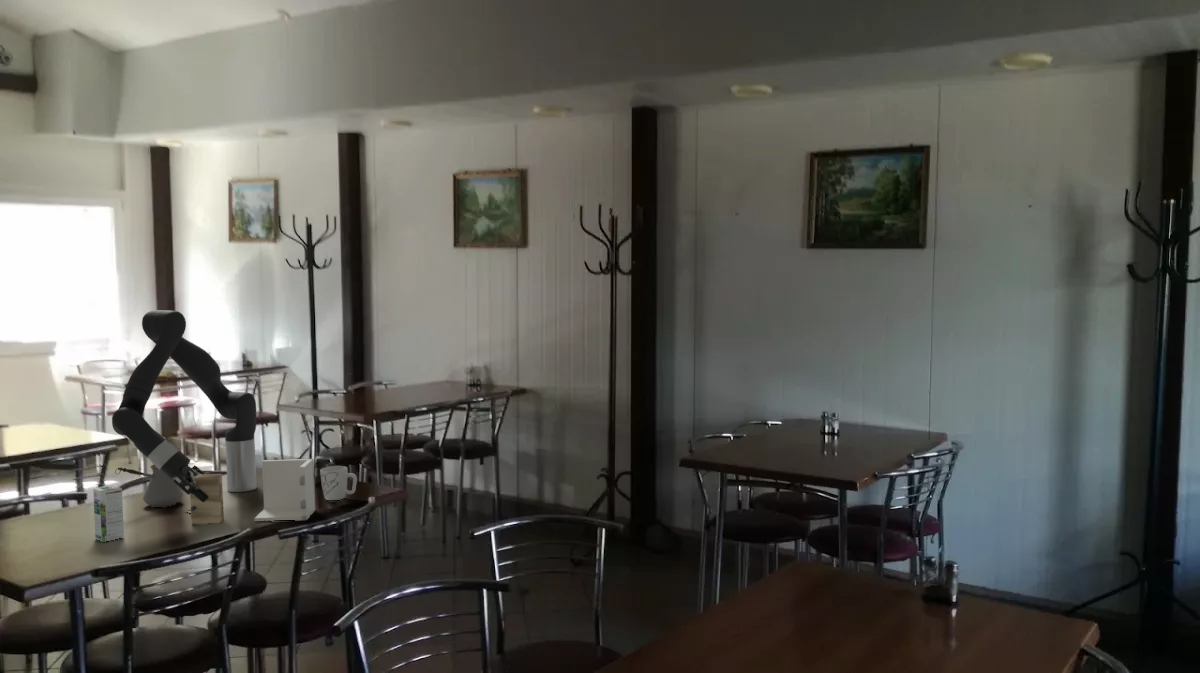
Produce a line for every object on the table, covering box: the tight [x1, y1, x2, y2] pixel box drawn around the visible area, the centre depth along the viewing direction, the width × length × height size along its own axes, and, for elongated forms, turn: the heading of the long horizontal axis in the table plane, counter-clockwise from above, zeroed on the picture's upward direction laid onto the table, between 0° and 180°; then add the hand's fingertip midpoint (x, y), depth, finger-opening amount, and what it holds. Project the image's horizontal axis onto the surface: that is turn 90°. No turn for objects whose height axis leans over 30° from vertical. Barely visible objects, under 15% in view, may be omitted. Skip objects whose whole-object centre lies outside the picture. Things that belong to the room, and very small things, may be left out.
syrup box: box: [92, 485, 125, 543], centre depth 260 cm, size 6×6×14 cm
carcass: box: [254, 458, 316, 522], centre depth 281 cm, size 14×15×16 cm
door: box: [189, 473, 225, 525], centre depth 276 cm, size 5×8×14 cm, turn 95°
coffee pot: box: [114, 464, 184, 508], centre depth 294 cm, size 21×12×15 cm, turn 153°
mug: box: [319, 465, 358, 501], centre depth 302 cm, size 11×8×10 cm
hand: (211, 496), depth 276 cm, fingers open, 8 cm apart
